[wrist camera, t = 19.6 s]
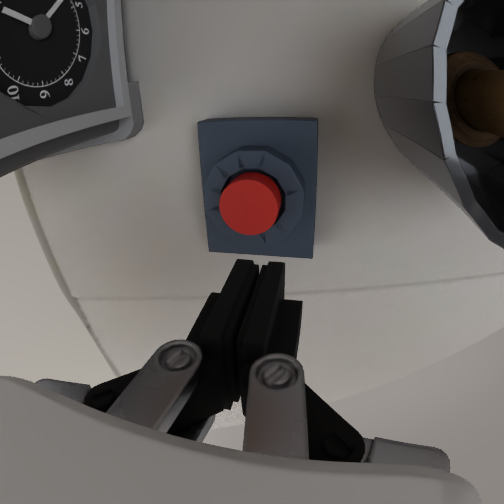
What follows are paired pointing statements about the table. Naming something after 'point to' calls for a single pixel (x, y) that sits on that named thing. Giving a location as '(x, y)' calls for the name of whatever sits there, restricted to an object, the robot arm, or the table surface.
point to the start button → (250, 203)
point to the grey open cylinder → (443, 103)
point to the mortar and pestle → (475, 99)
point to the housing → (270, 164)
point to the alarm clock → (62, 79)
